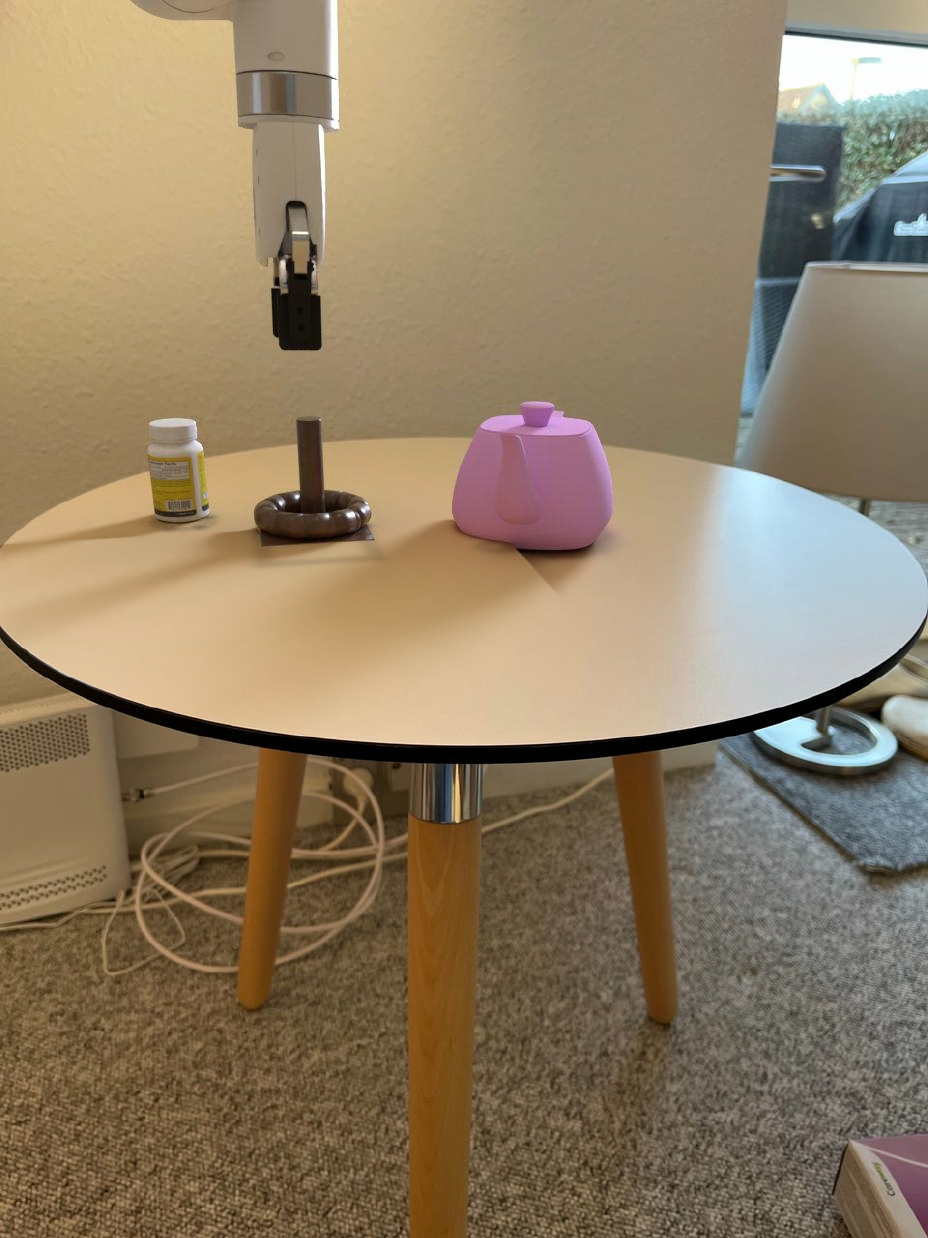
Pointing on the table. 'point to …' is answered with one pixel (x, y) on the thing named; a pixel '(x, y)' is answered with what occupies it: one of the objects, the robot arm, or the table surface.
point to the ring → (312, 515)
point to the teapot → (534, 481)
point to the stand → (311, 485)
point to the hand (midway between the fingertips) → (296, 343)
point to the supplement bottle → (177, 471)
